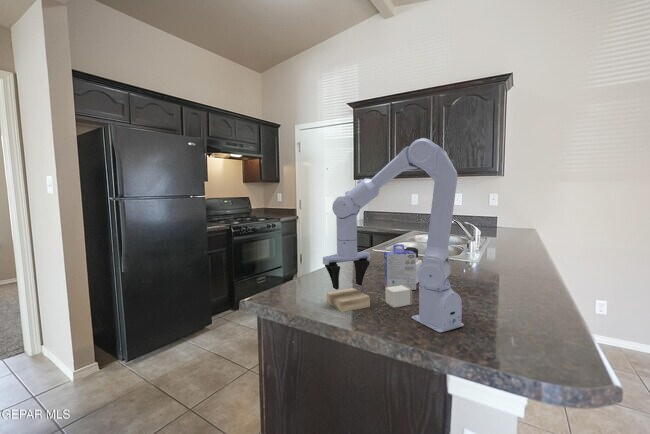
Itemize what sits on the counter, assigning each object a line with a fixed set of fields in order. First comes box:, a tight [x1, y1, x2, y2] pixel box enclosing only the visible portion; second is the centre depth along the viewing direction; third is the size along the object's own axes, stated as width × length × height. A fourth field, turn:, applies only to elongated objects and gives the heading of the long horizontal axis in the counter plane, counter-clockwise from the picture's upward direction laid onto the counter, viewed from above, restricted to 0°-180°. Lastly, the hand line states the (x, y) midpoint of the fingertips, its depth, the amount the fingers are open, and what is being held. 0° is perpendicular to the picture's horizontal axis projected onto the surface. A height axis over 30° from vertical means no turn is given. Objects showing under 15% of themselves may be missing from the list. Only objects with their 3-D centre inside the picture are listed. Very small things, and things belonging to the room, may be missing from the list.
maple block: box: [326, 287, 371, 313], centre depth 87 cm, size 9×9×3 cm
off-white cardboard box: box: [384, 285, 413, 308], centre depth 88 cm, size 5×5×6 cm
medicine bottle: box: [404, 246, 423, 285], centre depth 110 cm, size 7×7×12 cm
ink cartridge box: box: [383, 243, 417, 291], centre depth 102 cm, size 10×6×14 cm, turn 90°
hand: (347, 286), depth 87 cm, fingers open, 7 cm apart
